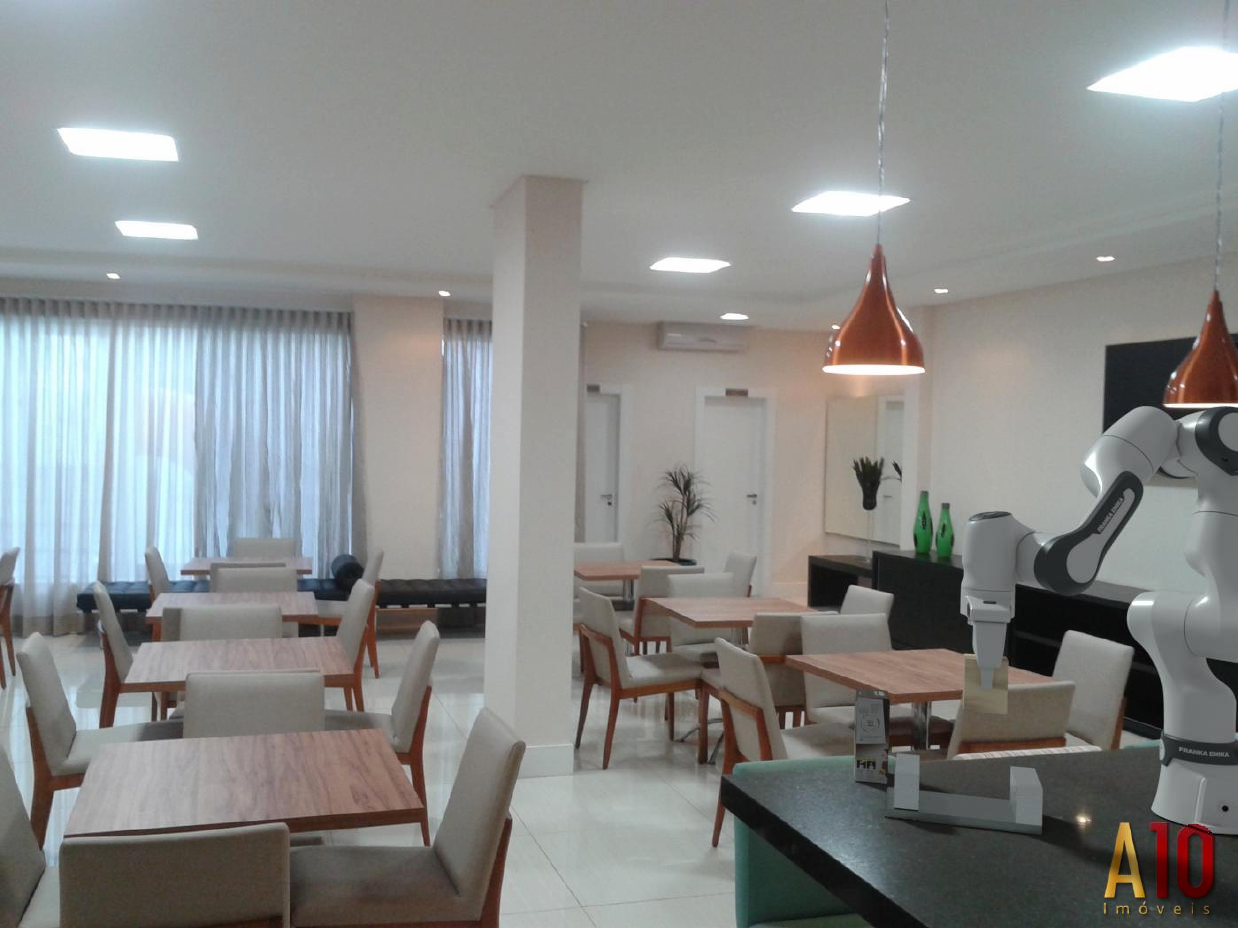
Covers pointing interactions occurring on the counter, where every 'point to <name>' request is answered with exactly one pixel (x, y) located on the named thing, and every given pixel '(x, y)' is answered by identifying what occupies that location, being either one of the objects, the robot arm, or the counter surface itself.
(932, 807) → the vise base
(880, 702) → the coffee box
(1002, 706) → the maple block
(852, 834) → the counter surface
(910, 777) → the block
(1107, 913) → the counter surface
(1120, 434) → the robot arm
